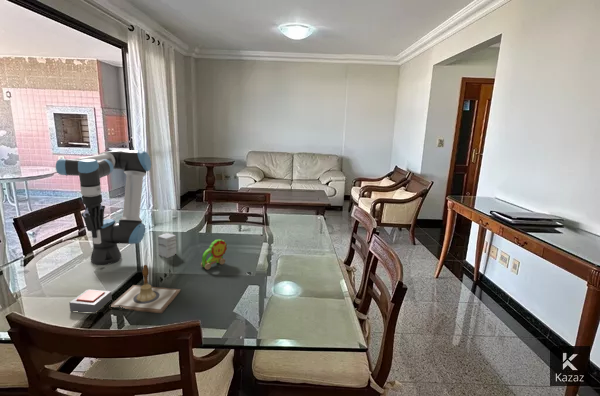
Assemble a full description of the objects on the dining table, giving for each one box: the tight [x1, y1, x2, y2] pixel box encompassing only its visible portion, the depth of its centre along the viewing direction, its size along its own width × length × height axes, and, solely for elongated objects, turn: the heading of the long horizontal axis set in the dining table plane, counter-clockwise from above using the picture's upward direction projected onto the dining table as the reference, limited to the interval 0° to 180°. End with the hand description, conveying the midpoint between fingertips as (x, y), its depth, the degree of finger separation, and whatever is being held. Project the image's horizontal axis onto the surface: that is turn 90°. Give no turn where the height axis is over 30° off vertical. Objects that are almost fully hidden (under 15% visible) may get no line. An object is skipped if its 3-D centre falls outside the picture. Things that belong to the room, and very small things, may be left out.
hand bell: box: [137, 264, 156, 302], centre depth 148 cm, size 8×8×16 cm
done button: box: [77, 291, 104, 303], centre depth 141 cm, size 7×7×3 cm
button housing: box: [69, 288, 113, 312], centre depth 141 cm, size 11×11×4 cm
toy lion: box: [200, 238, 228, 270], centre depth 186 cm, size 16×5×15 cm, turn 141°
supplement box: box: [157, 232, 177, 259], centre depth 195 cm, size 7×7×13 cm
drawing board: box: [110, 284, 182, 314], centre depth 150 cm, size 24×19×1 cm
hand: (97, 243), depth 150 cm, fingers closed
